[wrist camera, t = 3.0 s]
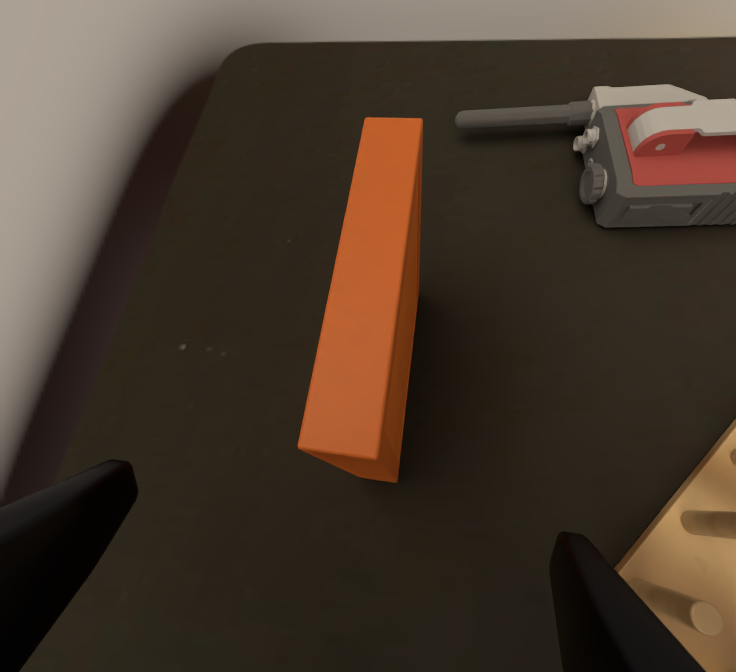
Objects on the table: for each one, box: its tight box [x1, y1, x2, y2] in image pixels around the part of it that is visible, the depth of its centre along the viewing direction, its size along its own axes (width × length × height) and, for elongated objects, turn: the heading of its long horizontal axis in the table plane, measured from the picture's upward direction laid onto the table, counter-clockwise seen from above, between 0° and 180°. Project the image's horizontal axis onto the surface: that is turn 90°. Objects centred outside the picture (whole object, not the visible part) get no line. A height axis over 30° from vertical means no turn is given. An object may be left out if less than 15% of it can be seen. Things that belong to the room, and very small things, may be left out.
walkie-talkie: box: [455, 84, 736, 228], centre depth 22 cm, size 9×4×20 cm
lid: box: [298, 118, 423, 483], centre depth 15 cm, size 10×2×11 cm, turn 172°
